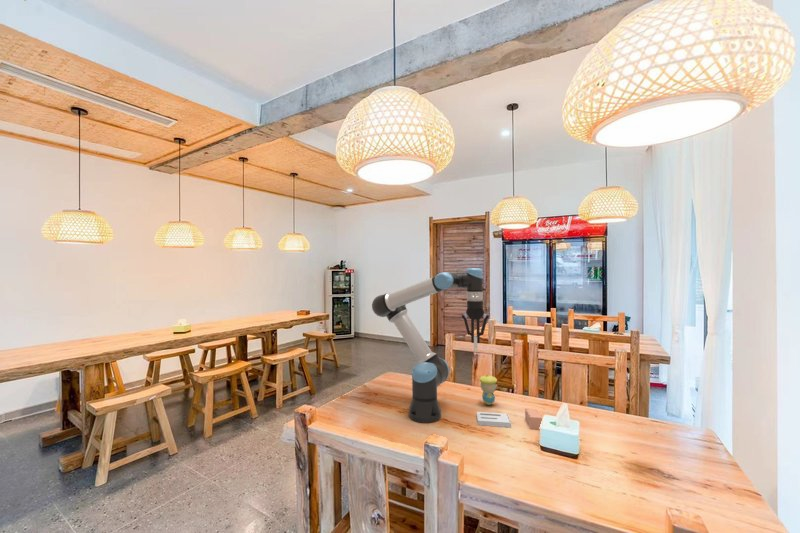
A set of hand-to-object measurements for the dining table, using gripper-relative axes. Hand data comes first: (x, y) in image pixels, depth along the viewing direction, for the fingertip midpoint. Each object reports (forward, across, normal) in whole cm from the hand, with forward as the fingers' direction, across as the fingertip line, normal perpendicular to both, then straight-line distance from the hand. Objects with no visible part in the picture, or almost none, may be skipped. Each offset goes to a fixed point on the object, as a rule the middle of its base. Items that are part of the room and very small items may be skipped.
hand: (475, 349), depth 152 cm
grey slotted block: (+30, +7, -7) cm, 32 cm away
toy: (+31, +7, +12) cm, 34 cm away
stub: (+30, +24, -7) cm, 39 cm away
